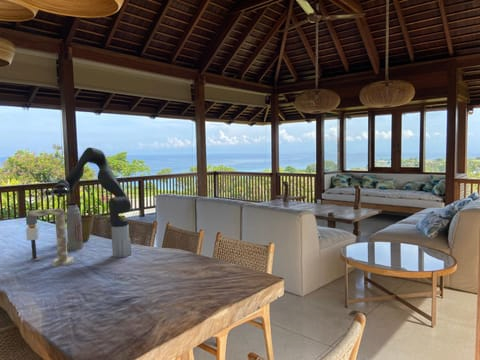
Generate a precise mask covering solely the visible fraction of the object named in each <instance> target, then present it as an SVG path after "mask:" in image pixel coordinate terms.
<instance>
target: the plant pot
mask: <svg viewBox="0 0 480 360" xmlns="http://www.w3.org/2000/svg"><path fill="white" fill-rule="evenodd" d="M93 224H94V215H91V214H84V215H83V214H82V215H81V226H82V242H83V243H85V242H88V241H89V239H90V236H91V233H92V230H93Z"/></svg>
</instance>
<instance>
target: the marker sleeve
mask: <svg viewBox="0 0 480 360" xmlns="http://www.w3.org/2000/svg"><path fill="white" fill-rule="evenodd" d="M39 230H40V229H39V226H38V225H36V226H35V227H34V228H30V227H28V226H27V227H26V228H25V231H26V232H25V234H26V235H25V236H26V241H31V240H35V241H36V240H39V238H40V233H39Z"/></svg>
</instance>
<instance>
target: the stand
mask: <svg viewBox="0 0 480 360" xmlns="http://www.w3.org/2000/svg"><path fill="white" fill-rule="evenodd" d="M52 215H54V218H55V221H54V222H55V235H56V247H57V258H54V260H53V261H52V264H51V266H52V267H58V266H59V265H60V266H66V265H67V266H68V265H73V262H74V256H68V240H67V226H66V213H65V209H64V210H63V208H62V207H61V208H49V209H36V210H35V209H33V210H29V211H27V216H28V217H29V216H37V217H39V216H41V217H42V216H52Z"/></svg>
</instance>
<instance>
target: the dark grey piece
mask: <svg viewBox="0 0 480 360" xmlns="http://www.w3.org/2000/svg"><path fill="white" fill-rule="evenodd" d="M25 221H26V222H25V223H26V225H27V228H28V227H30V228H34V227H35V226H37V224H38V216H29V217H28V215H27V216H26V217H25ZM30 243H31V253H32V255H31V256H32V257H31V258H30V262H31V263H37V262H39V259H40V258H39V257H38V256H37V245H36V244H37V243H36V240H30Z"/></svg>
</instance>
